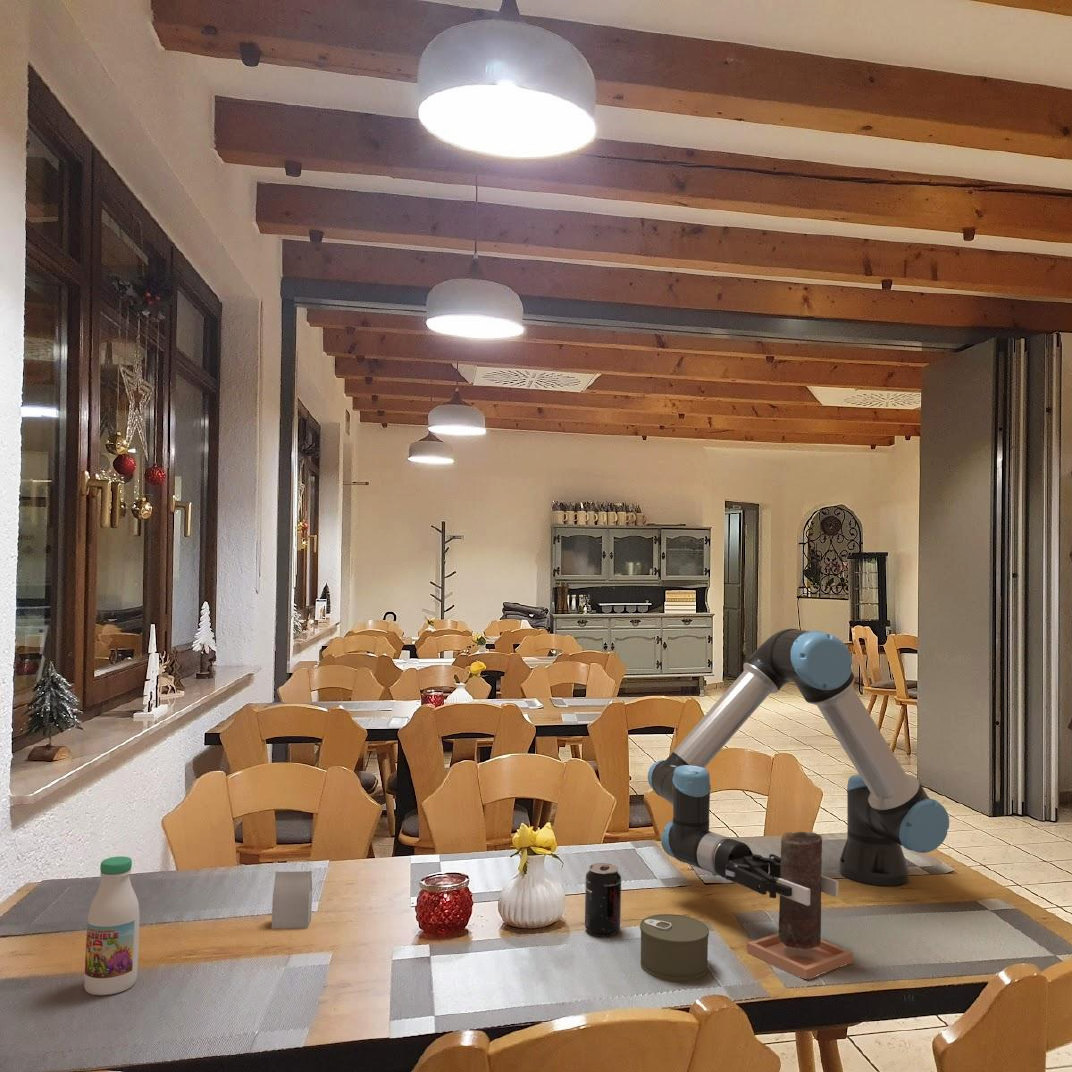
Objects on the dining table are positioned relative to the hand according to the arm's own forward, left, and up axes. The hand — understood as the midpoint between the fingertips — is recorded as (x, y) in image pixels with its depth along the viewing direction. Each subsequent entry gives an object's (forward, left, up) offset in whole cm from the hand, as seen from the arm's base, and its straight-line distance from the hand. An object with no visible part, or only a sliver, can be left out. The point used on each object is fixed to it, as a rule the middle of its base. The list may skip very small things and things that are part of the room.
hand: (823, 893), depth 154 cm
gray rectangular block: (+72, -67, -13) cm, 99 cm away
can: (+22, -15, -13) cm, 29 cm away
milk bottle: (+105, -58, -13) cm, 121 cm away
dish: (0, -5, -13) cm, 14 cm away
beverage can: (+23, -33, -13) cm, 42 cm away
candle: (0, -5, -11) cm, 12 cm away
